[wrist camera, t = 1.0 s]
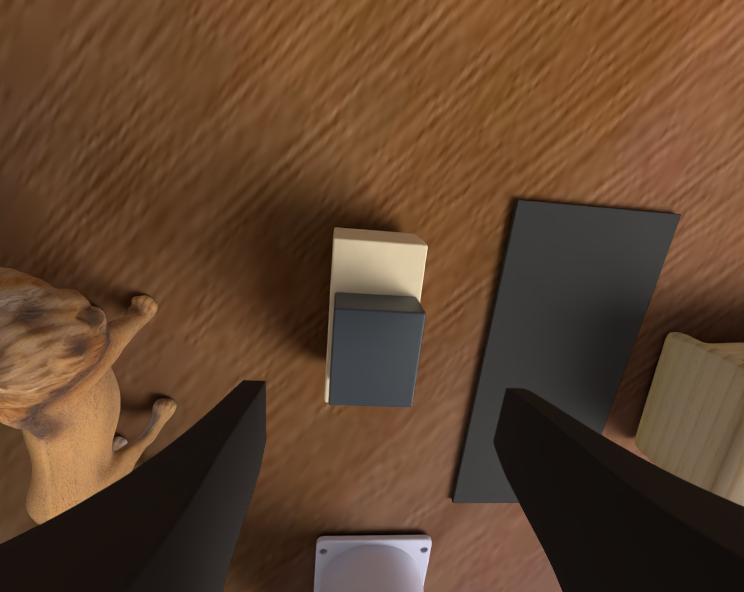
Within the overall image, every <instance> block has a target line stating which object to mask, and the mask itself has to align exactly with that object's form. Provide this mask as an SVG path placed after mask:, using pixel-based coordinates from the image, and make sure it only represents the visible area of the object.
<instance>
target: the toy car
mask: <svg viewBox="0 0 744 592" xmlns="http://www.w3.org/2000/svg"><path fill="white" fill-rule="evenodd" d="M427 248H428V246H427V244H426V243H425V242H423V241H422V240H421V239H420V238H419V237H418V236H417V235H416V234H414V233H401V232H388V231H376V230H363V229H350V228H337V227H336V228H334V235H333V250H332V267H331V285H330V303H329V321H328V339H327V357H326V375H325V393H324V401H325V402H328V403H329V405H349V406H388V407H412V404H413V397H414V391H415V384H416V377H417V371H418V364H419V357H420V351H421V344H422V337H423V331H424V324H425V317H426V313H425V311H424V310H423V308H422V306H421V304H420V298H421V291H422V284H423V277H424V270H425V263H426V255H427Z"/></svg>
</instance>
